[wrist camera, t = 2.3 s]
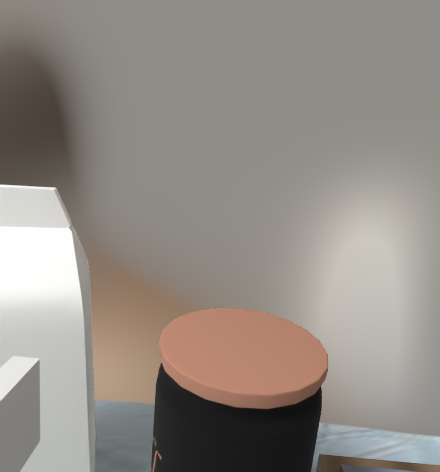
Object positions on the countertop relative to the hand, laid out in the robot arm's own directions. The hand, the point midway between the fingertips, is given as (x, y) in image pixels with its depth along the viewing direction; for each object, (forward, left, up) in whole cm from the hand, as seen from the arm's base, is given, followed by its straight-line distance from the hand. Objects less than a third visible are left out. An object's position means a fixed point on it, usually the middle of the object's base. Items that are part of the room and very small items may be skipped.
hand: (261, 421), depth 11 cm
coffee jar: (0, -12, -22) cm, 25 cm away
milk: (+17, -16, -22) cm, 32 cm away
